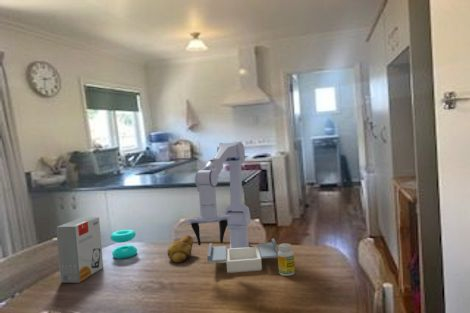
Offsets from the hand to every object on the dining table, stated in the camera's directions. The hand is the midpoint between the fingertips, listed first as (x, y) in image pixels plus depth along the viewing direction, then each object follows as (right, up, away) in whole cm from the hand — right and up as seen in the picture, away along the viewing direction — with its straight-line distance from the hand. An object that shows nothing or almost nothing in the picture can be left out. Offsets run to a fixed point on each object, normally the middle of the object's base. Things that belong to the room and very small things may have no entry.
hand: (210, 243), depth 129 cm
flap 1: (+2, -6, +6) cm, 8 cm away
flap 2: (+21, -4, +6) cm, 22 cm away
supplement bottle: (+26, -9, -4) cm, 28 cm away
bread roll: (-13, -11, +18) cm, 25 cm away
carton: (+12, -9, +6) cm, 16 cm away
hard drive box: (-47, -14, +8) cm, 50 cm away
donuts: (-37, -12, +27) cm, 48 cm away
